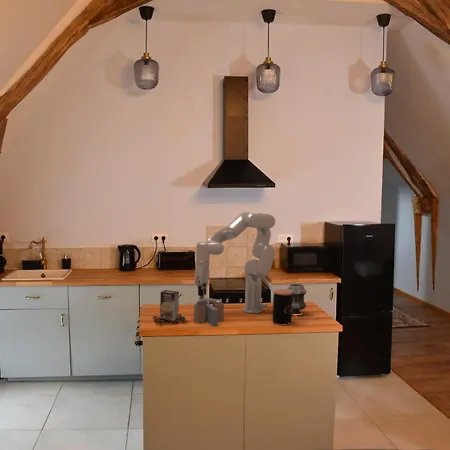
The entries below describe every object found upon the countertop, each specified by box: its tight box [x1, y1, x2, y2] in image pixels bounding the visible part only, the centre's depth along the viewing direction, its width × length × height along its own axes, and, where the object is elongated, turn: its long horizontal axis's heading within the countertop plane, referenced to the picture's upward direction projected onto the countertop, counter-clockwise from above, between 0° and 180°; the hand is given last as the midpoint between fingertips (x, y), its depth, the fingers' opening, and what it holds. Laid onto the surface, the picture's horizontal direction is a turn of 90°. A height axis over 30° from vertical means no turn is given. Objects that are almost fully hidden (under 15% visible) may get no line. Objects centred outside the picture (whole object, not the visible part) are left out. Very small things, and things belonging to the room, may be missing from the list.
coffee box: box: [159, 289, 180, 320], centre depth 287 cm, size 9×6×16 cm
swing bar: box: [198, 286, 223, 304], centre depth 291 cm, size 14×4×8 cm, turn 61°
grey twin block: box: [193, 300, 225, 327], centre depth 287 cm, size 16×20×12 cm
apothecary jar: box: [286, 283, 307, 314], centre depth 307 cm, size 12×12×18 cm
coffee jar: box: [271, 289, 293, 324], centre depth 288 cm, size 11×11×18 cm
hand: (202, 294), depth 294 cm, fingers closed on swing bar, 2 cm apart
